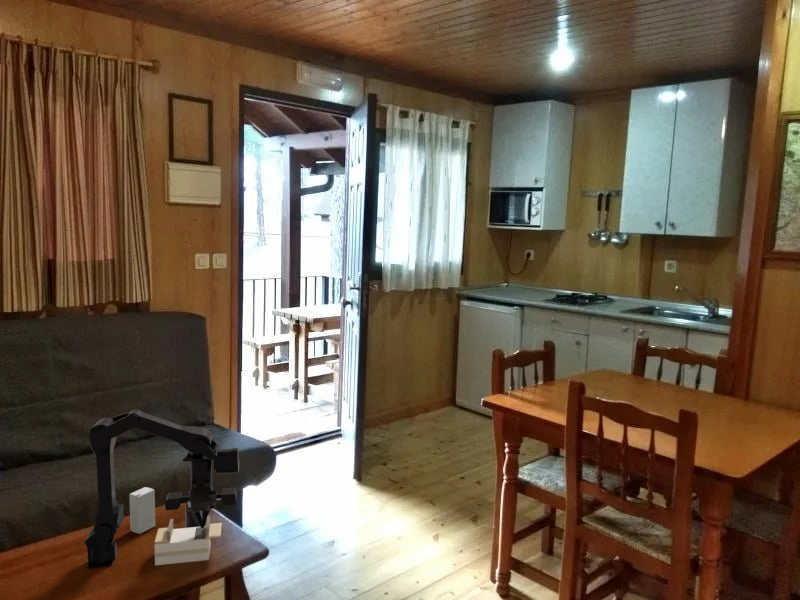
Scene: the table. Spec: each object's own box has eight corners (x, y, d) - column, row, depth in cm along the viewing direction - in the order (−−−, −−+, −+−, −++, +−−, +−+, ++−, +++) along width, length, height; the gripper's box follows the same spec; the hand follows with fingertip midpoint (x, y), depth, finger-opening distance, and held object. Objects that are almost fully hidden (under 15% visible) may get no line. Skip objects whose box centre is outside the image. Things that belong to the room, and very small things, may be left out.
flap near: (173, 528, 176) (173, 518, 175) (170, 542, 168) (169, 531, 168) (158, 530, 175) (158, 520, 174) (154, 543, 168) (154, 533, 167)
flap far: (205, 538, 171) (205, 528, 170) (207, 525, 178) (207, 515, 178) (220, 537, 172) (220, 527, 171) (221, 524, 179) (221, 514, 179)
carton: (154, 565, 168) (154, 544, 167) (159, 550, 176) (158, 530, 175) (208, 560, 171) (208, 539, 171) (210, 545, 179) (210, 525, 178)
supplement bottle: (180, 530, 187) (179, 493, 186) (197, 521, 193) (196, 484, 192) (197, 536, 184) (196, 498, 183) (213, 526, 190) (213, 489, 189)
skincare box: (146, 523, 192) (145, 485, 190) (156, 526, 189) (155, 488, 188) (129, 531, 186) (128, 493, 185) (139, 535, 184) (138, 496, 183)
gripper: (161, 489, 162) (163, 545, 164) (235, 483, 166) (236, 538, 168) (167, 472, 173) (168, 525, 175) (236, 467, 177) (236, 519, 179)
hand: (202, 527), depth 174 cm, fingers closed
